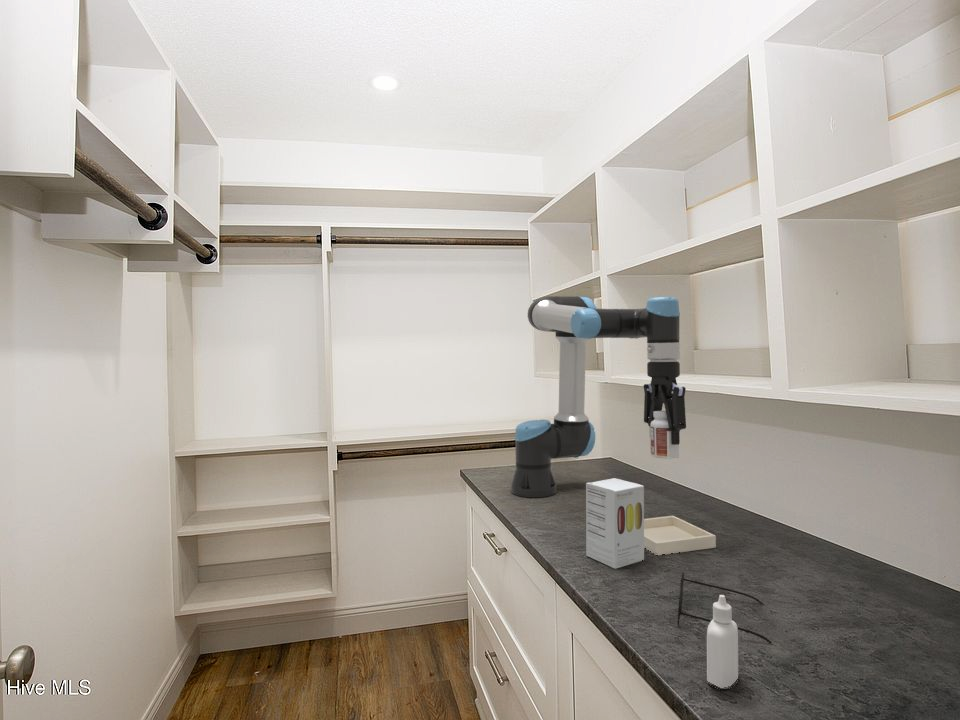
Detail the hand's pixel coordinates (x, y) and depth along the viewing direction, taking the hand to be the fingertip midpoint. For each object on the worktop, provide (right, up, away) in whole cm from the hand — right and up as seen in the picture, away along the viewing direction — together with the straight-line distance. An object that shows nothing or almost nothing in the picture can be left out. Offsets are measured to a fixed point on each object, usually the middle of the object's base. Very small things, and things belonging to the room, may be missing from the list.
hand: (664, 454), depth 130 cm
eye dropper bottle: (-11, -22, -55) cm, 60 cm away
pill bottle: (0, -1, 0) cm, 1 cm away
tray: (+1, -21, 0) cm, 21 cm away
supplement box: (-15, -22, -10) cm, 28 cm away
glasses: (-2, -22, -37) cm, 43 cm away
